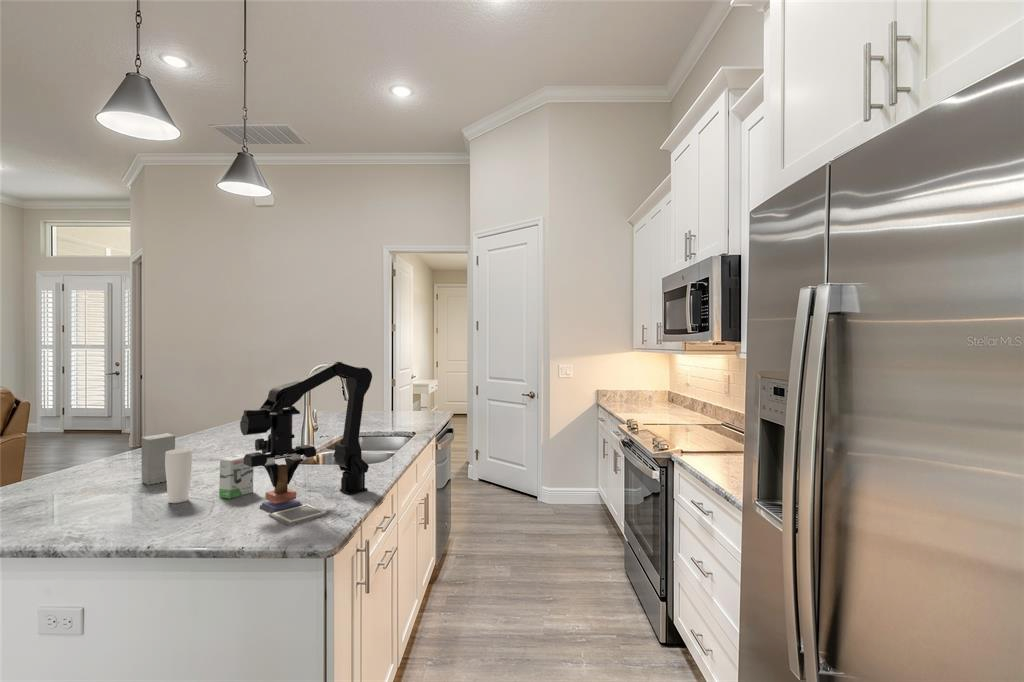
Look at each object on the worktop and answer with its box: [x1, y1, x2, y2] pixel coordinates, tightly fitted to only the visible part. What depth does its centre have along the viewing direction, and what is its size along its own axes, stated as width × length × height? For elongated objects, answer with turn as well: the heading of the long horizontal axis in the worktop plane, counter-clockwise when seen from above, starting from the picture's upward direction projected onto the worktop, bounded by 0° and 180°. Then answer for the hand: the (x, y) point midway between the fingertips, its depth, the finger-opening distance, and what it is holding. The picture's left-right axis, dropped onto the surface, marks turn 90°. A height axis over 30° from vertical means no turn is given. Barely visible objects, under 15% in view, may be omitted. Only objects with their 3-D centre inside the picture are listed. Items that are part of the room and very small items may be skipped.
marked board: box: [268, 503, 330, 526], centre depth 139 cm, size 11×11×1 cm
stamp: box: [265, 463, 297, 504], centre depth 145 cm, size 6×6×10 cm
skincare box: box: [141, 432, 176, 486], centre depth 173 cm, size 8×7×16 cm
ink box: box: [218, 453, 254, 500], centre depth 158 cm, size 9×5×12 cm, turn 159°
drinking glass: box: [165, 448, 193, 504], centre depth 151 cm, size 7×7×15 cm
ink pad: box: [259, 499, 303, 514], centre depth 145 cm, size 8×8×2 cm
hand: (281, 485), depth 145 cm, fingers closed on stamp, 3 cm apart
